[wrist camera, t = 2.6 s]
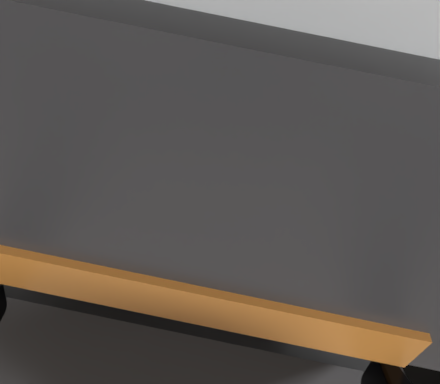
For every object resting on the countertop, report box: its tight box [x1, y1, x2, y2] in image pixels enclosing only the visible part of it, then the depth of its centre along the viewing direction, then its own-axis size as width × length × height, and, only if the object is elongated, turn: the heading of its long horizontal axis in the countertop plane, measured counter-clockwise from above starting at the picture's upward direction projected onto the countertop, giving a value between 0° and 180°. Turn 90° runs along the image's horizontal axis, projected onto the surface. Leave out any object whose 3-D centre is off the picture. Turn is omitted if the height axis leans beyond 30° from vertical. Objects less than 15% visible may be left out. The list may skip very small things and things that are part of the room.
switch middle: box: [0, 0, 440, 371], centre depth 7 cm, size 12×6×1 cm, turn 81°
